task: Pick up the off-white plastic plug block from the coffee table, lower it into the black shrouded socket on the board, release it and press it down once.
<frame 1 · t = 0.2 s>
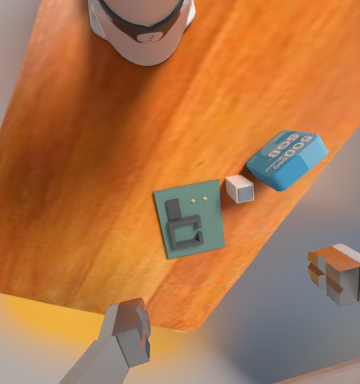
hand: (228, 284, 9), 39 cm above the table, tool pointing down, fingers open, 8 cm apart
plug: (233, 183, 50), on the table
board: (191, 220, 53), on the table
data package: (266, 153, 49), on the table
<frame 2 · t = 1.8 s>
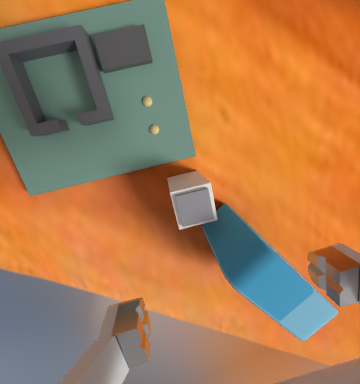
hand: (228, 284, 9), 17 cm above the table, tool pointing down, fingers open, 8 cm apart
plug: (185, 188, 26), on the table
board: (93, 106, 22), on the table
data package: (238, 235, 29), on the table
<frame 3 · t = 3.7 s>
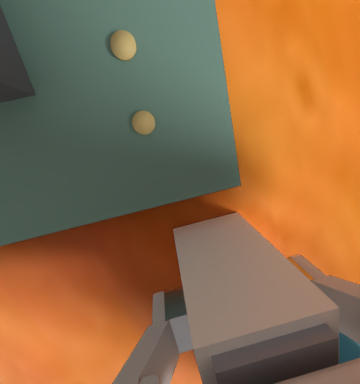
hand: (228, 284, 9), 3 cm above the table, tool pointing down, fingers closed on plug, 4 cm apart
plug: (211, 248, 12), on the table, touching gripper
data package: (304, 326, 15), on the table
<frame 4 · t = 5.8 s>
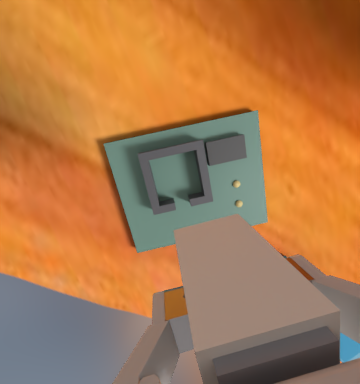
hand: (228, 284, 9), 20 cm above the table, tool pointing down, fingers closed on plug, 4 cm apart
plug: (211, 250, 12), point 17 cm above the table, touching gripper
board: (192, 184, 28), on the table
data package: (290, 278, 35), on the table
when the fingers open (5 cm above the table, at t = 8.2 s): plug stays where it is, resting on board.
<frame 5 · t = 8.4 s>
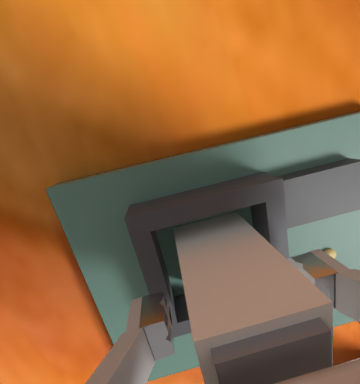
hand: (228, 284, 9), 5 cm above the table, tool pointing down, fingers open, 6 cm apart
plug: (210, 247, 13), point 1 cm above the table, touching board
board: (236, 254, 14), on the table
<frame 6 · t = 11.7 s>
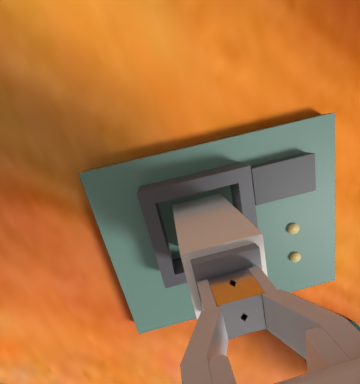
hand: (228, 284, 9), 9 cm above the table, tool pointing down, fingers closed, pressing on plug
plug: (200, 221, 17), point 1 cm above the table, touching board, gripper
board: (222, 229, 18), on the table
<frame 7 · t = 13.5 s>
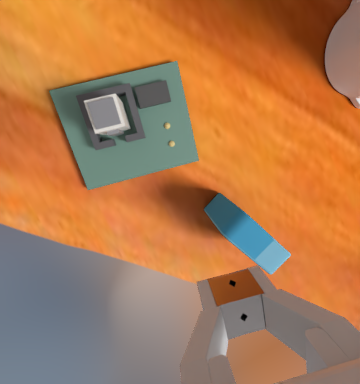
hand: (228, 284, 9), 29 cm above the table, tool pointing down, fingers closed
plug: (115, 119, 32), point 1 cm above the table, touching board
board: (131, 129, 34), on the table
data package: (229, 216, 41), on the table
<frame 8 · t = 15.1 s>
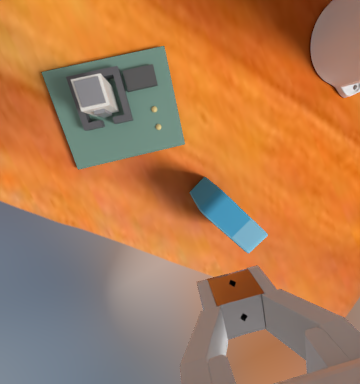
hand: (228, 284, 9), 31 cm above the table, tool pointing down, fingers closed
plug: (104, 101, 34), point 1 cm above the table, touching board
board: (120, 111, 35), on the table
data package: (215, 201, 42), on the table
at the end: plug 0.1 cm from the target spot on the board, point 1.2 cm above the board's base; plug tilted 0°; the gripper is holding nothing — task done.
